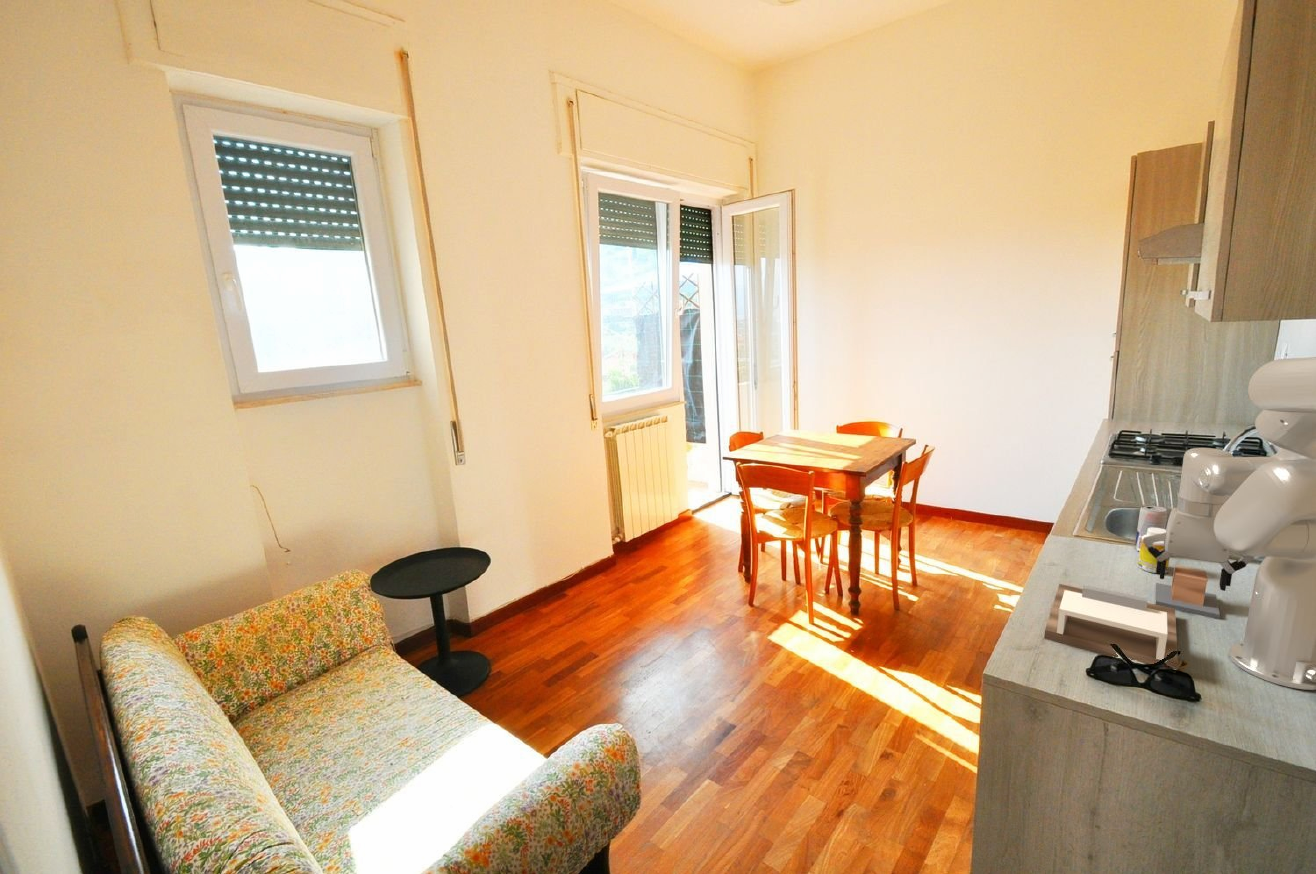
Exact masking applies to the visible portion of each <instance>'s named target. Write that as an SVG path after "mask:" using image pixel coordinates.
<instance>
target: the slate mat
mask: <svg viewBox="0 0 1316 874" xmlns="http://www.w3.org/2000/svg"><path fill="white" fill-rule="evenodd" d="M1171 587H1172V585H1171V584H1170V585H1169V584H1165V583H1159V582H1155V605H1160V606H1164V607H1169V608H1174V609H1175V611H1180V612H1184V613H1189V614H1194V615H1198V616H1203V617H1208V618H1213V619H1218V620H1220V616H1221V615H1220V609H1219V603H1218V597H1217V594H1214V593H1211V592H1205V597H1204V603H1203V606H1200V605H1195V604H1190V603H1185V602H1181V601H1176V600H1172V599H1171Z"/></svg>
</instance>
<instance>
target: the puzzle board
mask: <svg viewBox="0 0 1316 874" xmlns="http://www.w3.org/2000/svg"><path fill="white" fill-rule="evenodd" d="M1065 590H1067V591H1072V592H1076V593H1081V594H1082V591H1083V588H1081V587H1077V586H1076V587H1075V586H1070V585H1065V584H1061V583H1058V587H1057V591H1056V594H1055V596H1054V600H1053V603H1052V605H1051V606H1052V607H1051V609H1050V612H1049V616H1048V620H1047V623H1046V625H1045V629H1044V635H1043V636H1044V637H1043V638H1044V639H1045V640H1048V641H1053V642H1056V643H1060V644H1064V645H1066V646H1071V647H1074V648H1079V649H1082V650H1085V651H1089V652H1093V653H1096V654H1100V655H1104V656H1107V657H1111V656H1114V657H1118V655H1117V654H1116V652H1115V651H1114V650H1113V648H1112V646H1111V645H1110V644H1116V645H1117V646H1118V647H1119V648H1120V649H1121V650H1122V651H1123V653H1124V654H1125V655H1126V657H1128V658H1130V659H1131V660H1138V661H1140V662H1144V663H1149V664H1154V663H1157V662H1159V661H1160V660H1159V659H1156V637H1154V636H1150V635H1146V634H1142V633H1138V632H1134V631H1130V630H1125V629H1121V628H1117V627H1113V626H1109V625H1105V624H1101V623H1097V622H1093V621H1089V620H1084V619H1080V618H1076V617H1072V616H1068V617H1067V621H1066V624H1065V628H1064V632H1063V634H1060V633H1057V626H1058V617H1059V608H1060V605H1061V601H1062V598H1063V594H1064V591H1065ZM1147 608H1149V609H1153V610H1158V611H1163V612H1167V641H1166V647H1165V654H1164V658H1166V657H1167V655H1169V654H1170V653H1171V652H1173V651H1177V652H1178V642H1177V641H1178V640H1177V638H1178V637H1177V623H1176V622H1177V621H1176V620H1177V619H1176V618H1177V617H1176V610H1175V609H1174V608H1169V607H1164V606H1160V605H1156V603H1155V604H1154V603H1150V602H1147ZM1114 657H1113V658H1114ZM1166 665H1167V666H1170V667H1172V668H1173V669H1177V670H1178V666H1179V661H1178V653H1177V654H1176V655H1175V656H1174V657H1173V658H1171V659H1170V660H1168V661H1167V662H1166Z"/></svg>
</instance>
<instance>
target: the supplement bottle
mask: <svg viewBox="0 0 1316 874" xmlns="http://www.w3.org/2000/svg"><path fill="white" fill-rule="evenodd" d="M1162 533H1166V528H1165V529H1161V528H1148V530H1147V534H1146V535H1144V536H1143V537H1142V541H1141V548H1140V553H1139V557H1138V562H1137V564H1138V565H1137V566H1138V568H1140V569H1141V570H1142V571H1145V572H1147V573H1153V574H1157V573H1156V567H1157V560H1156V558H1155V557H1154V556H1153V555H1152V554H1151V553H1150V552H1149V551H1148V549H1147V547H1146V546H1145V544H1144V542H1143V538H1144V537H1148V536H1153V535H1157V534H1162ZM1153 545H1154V547H1155V548H1156V549H1157V550H1158V551H1161V550H1163V549H1164V548H1165V546H1164V541H1159V542H1154V543H1153ZM1170 558H1171V556H1170V557H1169V558H1167V559H1166V568H1165V574H1166V573H1167V572H1168V570H1169V565H1170Z"/></svg>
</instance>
